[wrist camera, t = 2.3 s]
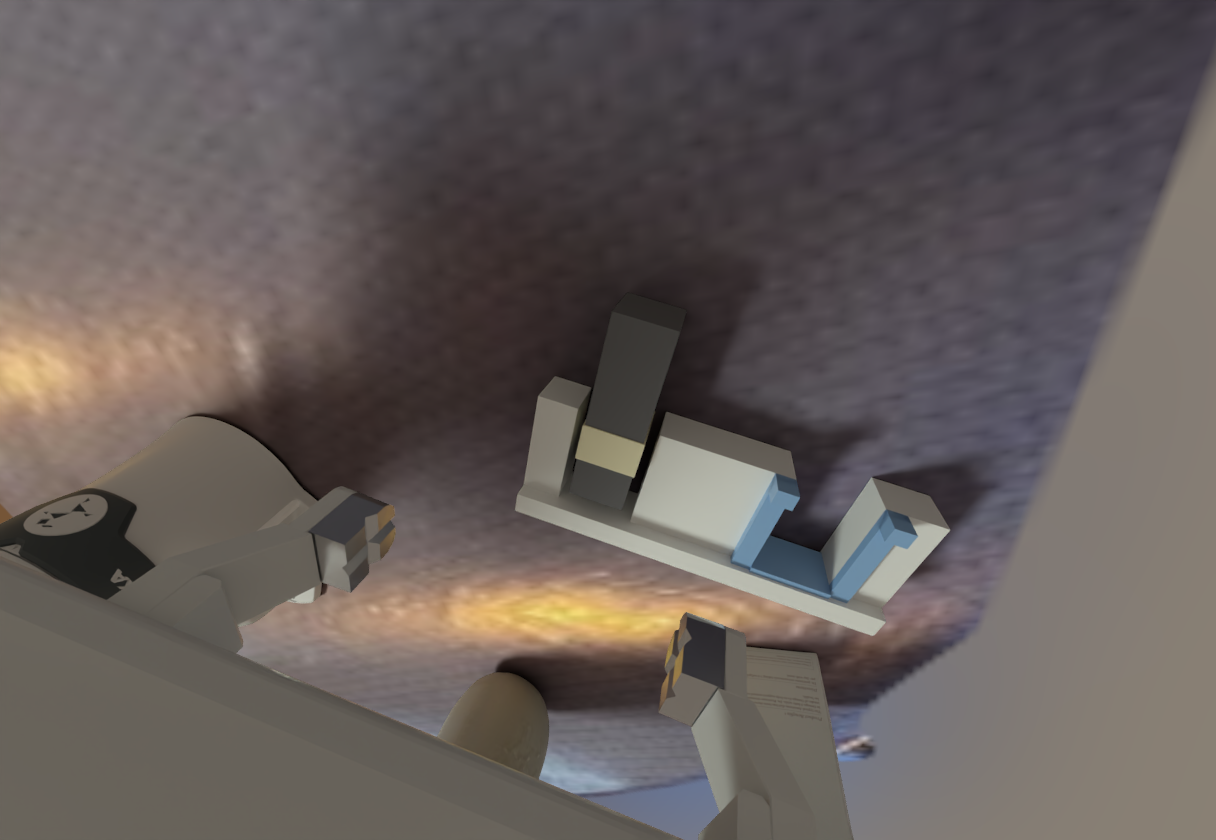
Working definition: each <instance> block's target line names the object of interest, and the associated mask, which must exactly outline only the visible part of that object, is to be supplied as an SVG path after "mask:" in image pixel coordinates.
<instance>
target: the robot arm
mask: <svg viewBox="0 0 1216 840" xmlns="http://www.w3.org/2000/svg"><path fill="white" fill-rule="evenodd" d="M394 516H395V513H394V506H392V505H389V504H387V503H384V502H382V501H379V500H377V499H374V498H372V497H369V496H367V495H364V494H362V493H359V492H356V491H354V490H351V489H349V488H346V487H343V486H340V487H337V488H334V489H333V490H332V491H330V492H329V493H328V494H327V495H325V496H324V497H323V498H322V499H320V500H319V501H317V500H316V499H315V498H313V497H312V496H311V495H310V494H308V493H307V492H306V491H305V490H303V488H302V487H301V486H300V485H299V484H298V483H297V482H296V480H295V479H294V478H293V476H292V475H291V474H290V472H289V471H288V470H287V469H286V467H285V466H284V465H283V464H282V463H281V462H280V461H279V460H278V459H277V458H276V457H275V456H274V455H273V454H272V453H271V452H270V451H269V450H268V449H267V448H265V447H264V446H263V445H262V444H260V443H259V442H258V441H256V440H255V439H254V438H252V437H251V436H249V435H248V434H246V433H244V432H243V431H241V430H239V429H237V428H235V427H233V426H231V425H229V424H227V423H224V422H222V421H219V420H216V419H212V418H207V417H198V416H195V417H187V418H184V419H182V420H180V421H178V422H177V423H176V424H175V425H174V426H173V427H171V428H170V429H169V430H168V431H167V432H166V433H164V434H163V435H162V436H161V437H159V438H158V439H157V440H155V441H154V442H153V443H151V444H150V445H149V446H147V447H146V448H144V449H143V450H142V451H140V452H139V453H137V454H136V455H134V456H133V457H131V458H130V459H128V460H127V461H125V462H124V463H122V464H121V465H119V466H117V467H116V468H114V469H113V470H111V471H109V472H108V473H106V474H105V475H103V476H101V477H100V478H98V479H97V480H95V481H93V482H92V483H90V484H88V485H87V486H85V487H83V488H82V489H80V490H78V491H76V492H74V493H71V494H68V495H65V496H62V497H60V498H57V499H54V500H52V501H49V502H47V503H44V504H41V505H38V506H36V507H34V508H32V509H30V510H28V511H25V512H23V513H21V514H19V515H17V516H15V517H13V518H11V519H9V520H8V521H5V522H3V523H1V524H0V840H683V839H681V838H678V837H676V836H673V835H671V834H669V833H666V832H663V831H661V830H659V829H657V828H654V827H652V826H649V825H647V824H645V823H642V822H640V821H637V820H635V819H633V818H630V817H628V816H625V815H623V814H620V813H618V812H615V811H613V810H611V809H608V808H606V807H604V806H601V805H599V804H596V803H594V802H591V801H589V800H587V799H584V798H582V797H580V796H577V795H575V794H572V793H570V792H568V791H565V790H563V789H560V788H558V787H556V786H553V785H551V784H548V783H546V782H544V781H541V780H539V779H536V778H534V777H532V776H529V775H527V774H524V773H522V772H519V771H517V770H515V769H512V768H510V767H507V766H505V765H503V764H500V763H498V762H495V761H493V760H491V759H488V758H486V757H483V756H481V755H479V754H476V753H474V752H471V751H469V750H467V749H464V748H462V747H459V746H457V745H455V744H452V743H450V742H447V741H445V740H442V739H440V738H438V737H435V736H433V735H430V734H428V733H426V732H423V731H421V730H418V729H416V728H414V727H411V726H409V725H406V724H404V723H402V722H399V721H397V720H394V719H392V718H390V717H387V716H385V715H382V714H380V713H378V712H375V711H373V710H370V709H368V708H366V707H363V706H361V705H358V704H356V703H353V702H351V701H349V700H346V699H344V698H341V697H339V696H337V695H334V694H332V693H329V692H327V691H325V690H322V689H320V688H317V687H315V686H312V685H310V684H308V683H305V682H303V681H300V680H298V679H296V678H293V677H291V676H288V675H286V674H284V673H281V672H279V671H276V670H274V669H272V668H269V667H267V666H264V665H262V664H259V663H257V662H255V661H252V660H250V659H247V658H245V657H243V656H240V655H238V654H236V653H237V652H238V651H239V650H240V649H241V648H242V647H243V639H242V636H241V634H240V631H239V628H238V627H240V626H246V625H249V624H252V623H254V622H256V621H258V620H259V619H261V618H262V617H264V616H265V615H266V614H267V613H269V612H270V611H271V610H272V609H273V608H274V607H276V606H277V605H279V604H281V603H283V602H285V601H289V602H295V603H312V602H314V601H315V600H316V599H317V598H318V597H320V594H321V587H322V583H325V584H328V585H330V586H333V587H336V588H339V589H342V590H344V591H347V592H350V593H351V592H352V591H353V590H354V589H355V588H356V587H357V585H358V584H359V583H360V582H361V581H362V580H363V579H364V578H365V577H366V576H367V575H368V573H369V565H370V564H372V563H375V562H377V561H380V560H381V559H382V558H383V557H384V556H385V554H386V553H387V552H388V551H389V549H390V547H391V545H392V543H393V541H394V537H395V526H394V525H393V523H392V522H391V519H392V518H393V517H394ZM665 670H666V672H667V677H666V679H665V681H664V683H663V685H662V690H661V697H660V705H659V712H658V713H660V714H663V715H665V716H668V717H670V718H672V719H675V720H677V721H679V722H682V723H684V724H687V725H689V726H691V727H692V728H691V729H692V732H693V735H694V738H695V741H696V744H697V747H698V750H699V753H700V756H701V759H702V762H703V765H704V768H705V771H706V774H707V777H708V780H709V783H710V786H711V789H712V792H713V795H714V797H715V800H716V804H717V806H718V809H719V812H720V813H719V814H718V815H717V816H716V817H715V818H714V819H713V820H712V821H711V822H710V823H709V824H708V825H707V827H705V828H704V830H703V831H702V832H701V833H700V834H699V836H698V840H818V839H817V830H816V822H815V815H814V814H813V812H812V810H811V808H810V806H809V804H808V802H807V800H806V799H805V797H804V795H803V793H802V791H801V789H800V787H799V785H798V784H797V782H796V780H795V778H794V776H793V774H792V772H791V770H790V769H789V767H788V765H787V763H786V761H785V759H784V757H783V756H782V754H781V752H780V750H779V748H778V746H777V744H776V742H775V741H774V739H773V737H772V735H771V733H770V731H769V729H768V727H767V726H766V724H765V722H764V720H763V718H762V716H761V714H760V713H759V711H758V709H757V707H756V705H755V703H754V701H751V700H749V699H748V695H747V657H746V637H745V634H744V633H742V632H739V631H737V630H734V629H731V628H728V627H725V626H723V625H721V624H719V623H716V622H713V621H710V620H707V619H704V618H701V617H698V616H696V615H693V614H690V613H687V612H686V613H685V614H684V615H683V616H682V618H681V620H680V628H679V630H676V631H675V632H674V634H673V636H672V639H671V641H670V644H669V648H668V651H667V656H666V662H665Z"/></svg>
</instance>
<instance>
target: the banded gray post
mask: <svg viewBox="0 0 1216 840" xmlns="http://www.w3.org/2000/svg"><path fill="white" fill-rule="evenodd" d="M686 312H687V310H685V309H682V308H678V307H675V306H672V305H668V304H665V303H662V302H658V301H655V300H652V299H648V298H645V297H642V296H638V295H635V294H631V293H628V292H627V293H626V295H625V296H624V297H623V298H622V300H621V301H620V302H619V303H618V304H617V306H616V307H615V308H614V309H613V310H612V313H611V317H610V321H609V325H608V330H607V334H606V338H605V342H604V346H603V351H602V355H601V359H600V363H599V368H598V372H597V376H596V380H595V384H594V389H593V393H592V397H591V401H590V406H589V410H588V414H587V418H586V420H585V422H584V424H583V426H582V431H581V435H580V439H579V443H578V448H577V452H576V456H575V458H576V459H577V460H576V465H575V469H574V473H573V477H572V481H571V486H570V490H569V493H572V494H575V495H578V496H581V497H583V498H586V499H589V500H592V501H595V502H598V503H601V504H604V505H607V506H610V507H613V508H616V509H619V510H622V508H623V505H624V502H625V499H626V496H627V493H628V490H629V487H630V484H631V481H632V478H634V477H635V474H636V471H637V468H638V465H639V462H640V459H641V456H642V453H643V450H644V447H645V444H646V441H647V437H648V434H649V431H650V428H651V424H652V421H653V418H654V414H655V412H654V411H655V408H656V405H657V402H658V399H659V396H660V392H661V389H662V386H663V383H664V380H665V377H666V374H667V371H668V368H669V365H670V362H671V359H672V356H673V353H674V350H675V347H676V344H677V341H678V338H679V335H680V332H681V328H682V325H683V322H684V318H685V315H686Z"/></svg>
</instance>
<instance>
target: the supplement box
mask: <svg viewBox="0 0 1216 840" xmlns="http://www.w3.org/2000/svg"><path fill="white" fill-rule="evenodd" d="M746 657H747V695H748V699H749V700H751V701H754V703H755V705H756V707H757V709H758V711H759V713H760V714H761V716H762V718H763V720H764V722H765V724H766V726H767V727H768V729H769V731H770V733H771V735H772V737H773V739H774V741H775V742H776V744H777V746H778V748H779V750H780V752H781V754H782V756H783V757H784V759H785V761H786V763H787V765H788V767H789V769H790V770H791V772H792V774H793V776H794V778H795V780H796V782H797V784H798V785H799V787H800V789H801V791H802V793H803V795H804V797H805V799H806V800H807V802H808V804H809V806H810V808H811V810H812V812H813V814H814V815H815V822H816V830H817V839H818V840H854V839H853V835H852V830H851V825H850V820H849V815H848V810H847V805H846V800H845V794H844V790H843V784H842V779H841V774H840V769H839V763H838V758H837V752H836V746H835V741H834V736H833V731H832V726H831V720H830V715H829V710H828V705H827V699H826V694H825V690H824V685H823V680H822V675H821V670H820V665H819V661H818V657H817V654H816V653H807V652H796V651H786V650H775V649H765V648H755V647H746Z"/></svg>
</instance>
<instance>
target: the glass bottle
mask: <svg viewBox="0 0 1216 840" xmlns="http://www.w3.org/2000/svg"><path fill="white" fill-rule="evenodd" d="M437 737H438V738H440V739H442V740H445V741H447V742H450V743H452V744H455V745H457V746H459V747H462V748H464V749H467V750H469V751H471V752H474V753H476V754H479V755H481V756H483V757H486V758H488V759H491V760H493V761H495V762H498V763H500V764H503V765H505V766H507V767H510V768H512V769H515V770H517V771H519V772H522V773H524V774H527V775H529V776H532V777H534V778H536V779H539V776H540V773H541V770H542V767H543V763H544V759H545V756H546V751H547V746H548V739H549V719H548V712H547V708H546V705H545V702H544V700H543V698H542V696H541V695H540V693H539V692H538V690H537V689H536V688H535V687H534V686H533V685H532V684H531V683H529V682H528V681H526V680H525V679H523V678H522V677H520V676H518V675H515V674H512V673H500V672H496V673H492V674H489V675H486V676H484V677H482V678H480V679H479V680H477V681H476V682H475V683H474V684H473V685H472V686H471V687H470V688H469V689H468V690H467V691H466V692H465V693H464V694H463V696H462V697H461V698H460V699H459V701H458V702H457V703H456V704H455V706H454V707H453V709H452V710H451V712H450V714H449V716H448V717H447V719H446V721H445V723H444V724H443V726H442V728H441V730H440V732H439V734H438V736H437Z"/></svg>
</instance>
